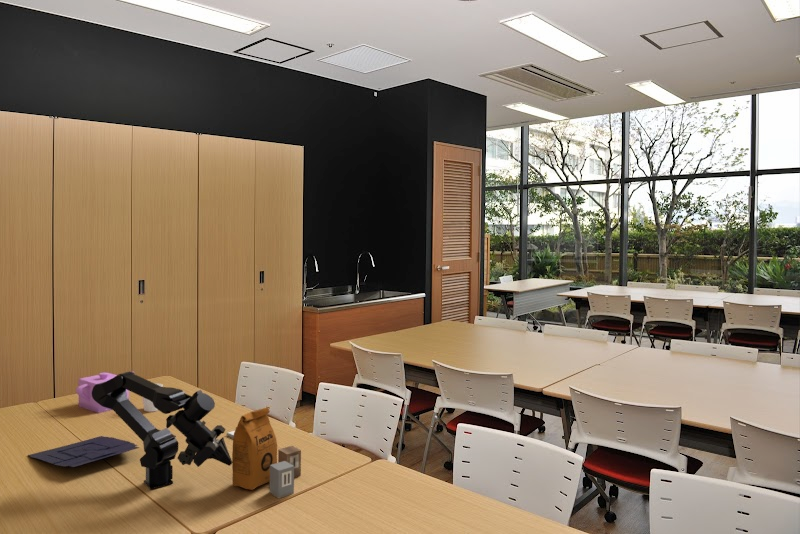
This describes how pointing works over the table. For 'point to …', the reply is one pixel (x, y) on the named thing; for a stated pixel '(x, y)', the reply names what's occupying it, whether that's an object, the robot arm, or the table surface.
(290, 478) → the grey numbered block
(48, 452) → the dark blue flat slab
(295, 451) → the walnut numbered block
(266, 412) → the coffee package
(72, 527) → the table surface
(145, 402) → the white cup
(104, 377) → the teapot
